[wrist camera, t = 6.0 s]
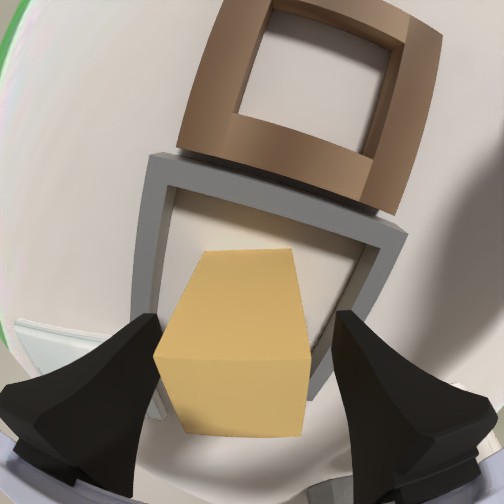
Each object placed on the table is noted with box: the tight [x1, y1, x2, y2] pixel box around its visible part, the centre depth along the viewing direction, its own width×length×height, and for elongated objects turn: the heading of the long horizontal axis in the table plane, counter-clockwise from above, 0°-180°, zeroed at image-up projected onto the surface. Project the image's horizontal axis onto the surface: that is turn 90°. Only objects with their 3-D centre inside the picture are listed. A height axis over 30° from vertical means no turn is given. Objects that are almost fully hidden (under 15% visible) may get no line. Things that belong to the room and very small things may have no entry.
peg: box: [153, 248, 311, 438], centre depth 10 cm, size 4×4×7 cm
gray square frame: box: [130, 152, 408, 401], centre depth 13 cm, size 11×11×2 cm
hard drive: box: [13, 318, 167, 421], centre depth 17 cm, size 2×8×12 cm
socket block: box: [176, 0, 443, 216], centre depth 9 cm, size 9×9×2 cm
